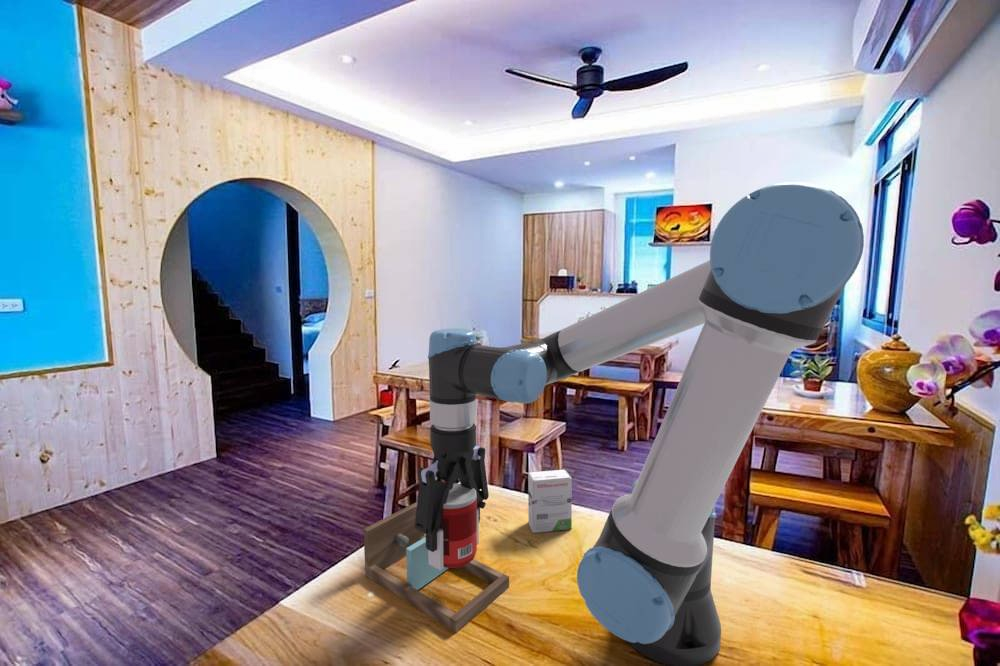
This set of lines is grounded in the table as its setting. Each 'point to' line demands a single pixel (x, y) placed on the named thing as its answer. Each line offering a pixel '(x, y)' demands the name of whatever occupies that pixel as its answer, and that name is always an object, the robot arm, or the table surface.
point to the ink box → (549, 501)
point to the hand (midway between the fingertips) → (454, 553)
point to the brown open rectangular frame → (387, 548)
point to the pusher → (420, 565)
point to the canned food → (459, 527)
